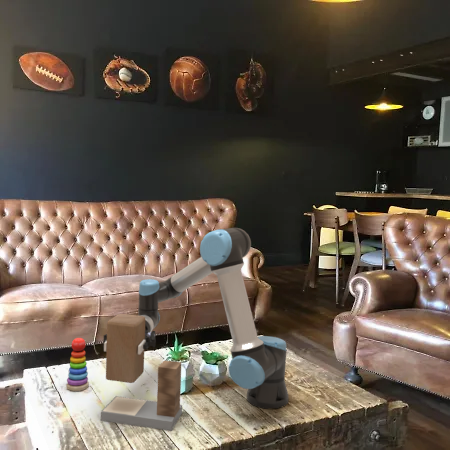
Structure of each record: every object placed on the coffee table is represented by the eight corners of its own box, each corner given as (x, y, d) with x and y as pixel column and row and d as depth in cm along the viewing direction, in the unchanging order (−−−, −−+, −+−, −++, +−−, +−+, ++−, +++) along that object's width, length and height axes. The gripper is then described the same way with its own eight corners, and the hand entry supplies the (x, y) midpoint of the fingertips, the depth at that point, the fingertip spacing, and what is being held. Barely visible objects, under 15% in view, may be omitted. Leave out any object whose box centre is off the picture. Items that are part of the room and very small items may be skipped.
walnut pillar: (179, 408, 167) (181, 362, 165) (174, 417, 161) (176, 369, 159) (162, 406, 168) (164, 360, 166) (156, 414, 162) (158, 367, 160)
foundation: (181, 413, 170) (182, 404, 170) (171, 430, 158) (171, 421, 158) (115, 404, 175) (115, 395, 174) (100, 420, 163) (100, 411, 163)
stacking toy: (91, 389, 186) (92, 340, 184) (70, 393, 181) (70, 343, 180) (84, 381, 192) (85, 334, 191) (63, 385, 188) (64, 337, 186)
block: (133, 384, 161) (135, 324, 159) (104, 380, 163) (106, 320, 161) (144, 372, 170) (146, 315, 168) (117, 369, 172) (118, 312, 170)
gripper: (171, 340, 182) (156, 363, 161) (110, 335, 185) (87, 356, 163) (172, 320, 182) (157, 340, 160) (110, 315, 184) (87, 334, 162)
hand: (122, 348), depth 161 cm, fingers closed on block, 11 cm apart
